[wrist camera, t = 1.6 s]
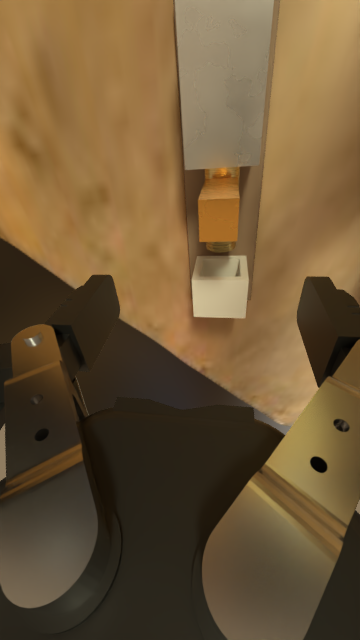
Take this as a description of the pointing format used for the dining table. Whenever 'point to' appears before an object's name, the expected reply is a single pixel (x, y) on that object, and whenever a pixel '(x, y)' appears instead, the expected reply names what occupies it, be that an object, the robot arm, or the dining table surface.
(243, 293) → the socket
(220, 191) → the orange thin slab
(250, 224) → the base board
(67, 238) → the dining table surface
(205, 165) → the grey block
